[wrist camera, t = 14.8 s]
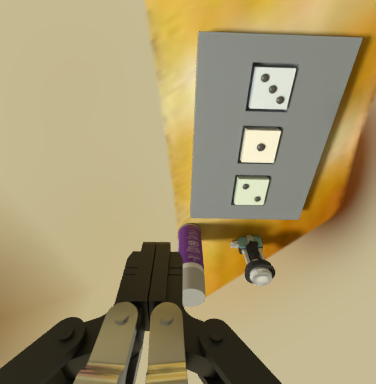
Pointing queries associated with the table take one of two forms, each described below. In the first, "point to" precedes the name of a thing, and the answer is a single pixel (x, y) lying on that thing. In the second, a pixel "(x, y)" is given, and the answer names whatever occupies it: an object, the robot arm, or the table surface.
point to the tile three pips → (270, 87)
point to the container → (191, 264)
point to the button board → (263, 118)
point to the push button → (254, 260)
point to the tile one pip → (259, 144)
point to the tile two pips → (250, 189)
